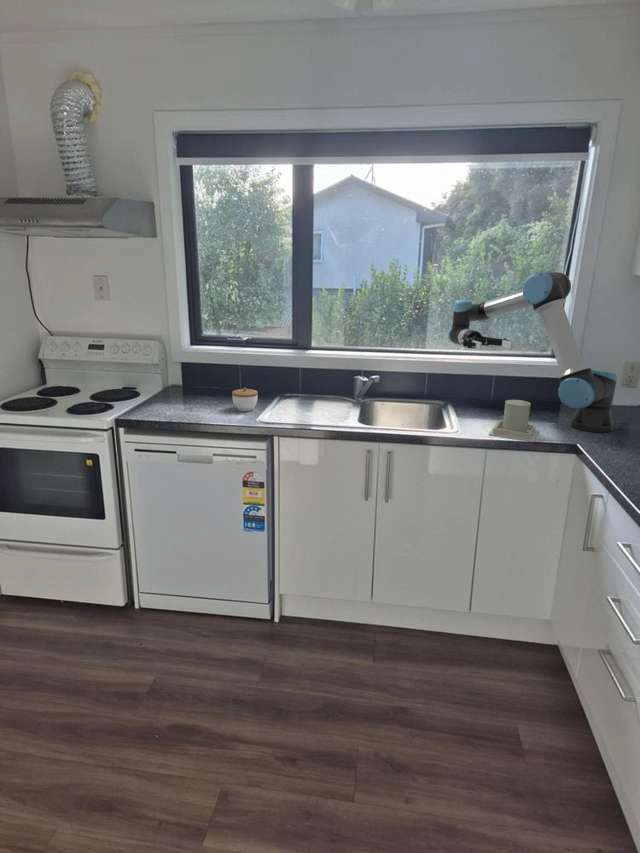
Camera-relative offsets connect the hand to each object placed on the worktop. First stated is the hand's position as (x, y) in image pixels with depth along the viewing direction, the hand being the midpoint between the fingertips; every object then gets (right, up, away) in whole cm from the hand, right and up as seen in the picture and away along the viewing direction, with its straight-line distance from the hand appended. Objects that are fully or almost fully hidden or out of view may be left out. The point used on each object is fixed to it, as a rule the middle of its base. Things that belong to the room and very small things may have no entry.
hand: (496, 345), depth 214 cm
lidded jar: (-102, -25, +16) cm, 106 cm away
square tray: (+4, -34, -8) cm, 36 cm away
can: (+4, -34, -8) cm, 35 cm away
